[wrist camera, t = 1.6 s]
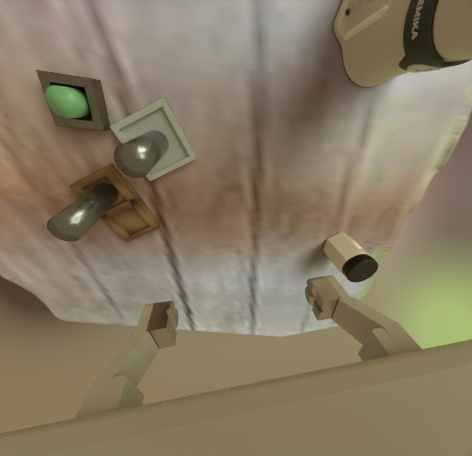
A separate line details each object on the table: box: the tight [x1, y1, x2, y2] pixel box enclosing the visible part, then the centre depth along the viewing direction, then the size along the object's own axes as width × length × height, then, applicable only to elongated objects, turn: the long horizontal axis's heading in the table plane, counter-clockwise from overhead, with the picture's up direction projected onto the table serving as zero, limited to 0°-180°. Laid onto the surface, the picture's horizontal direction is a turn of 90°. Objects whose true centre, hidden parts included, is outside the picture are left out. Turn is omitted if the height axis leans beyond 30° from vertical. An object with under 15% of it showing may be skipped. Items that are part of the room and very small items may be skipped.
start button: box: [45, 85, 91, 119], centre depth 28 cm, size 4×4×4 cm
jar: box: [323, 232, 378, 282], centre depth 53 cm, size 9×8×12 cm
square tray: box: [110, 97, 197, 181], centre depth 36 cm, size 11×11×2 cm
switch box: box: [36, 70, 111, 130], centre depth 30 cm, size 7×7×3 cm
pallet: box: [70, 164, 161, 242], centre depth 41 cm, size 16×9×2 cm, turn 23°
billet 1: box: [47, 183, 119, 241], centre depth 33 cm, size 4×4×14 cm
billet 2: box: [114, 130, 169, 178], centre depth 30 cm, size 4×4×14 cm
